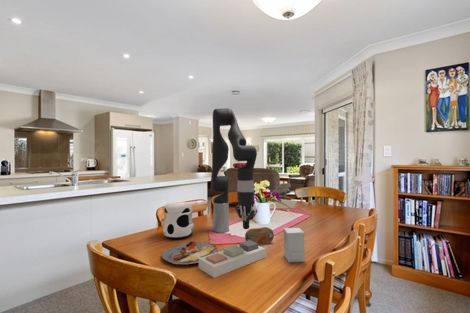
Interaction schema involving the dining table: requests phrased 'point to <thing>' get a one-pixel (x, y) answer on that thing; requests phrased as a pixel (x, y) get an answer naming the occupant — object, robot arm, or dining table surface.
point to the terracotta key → (216, 258)
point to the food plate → (188, 252)
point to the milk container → (178, 220)
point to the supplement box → (294, 245)
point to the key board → (230, 262)
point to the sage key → (233, 251)
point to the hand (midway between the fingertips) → (246, 228)
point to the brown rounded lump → (260, 235)
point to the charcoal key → (248, 245)
